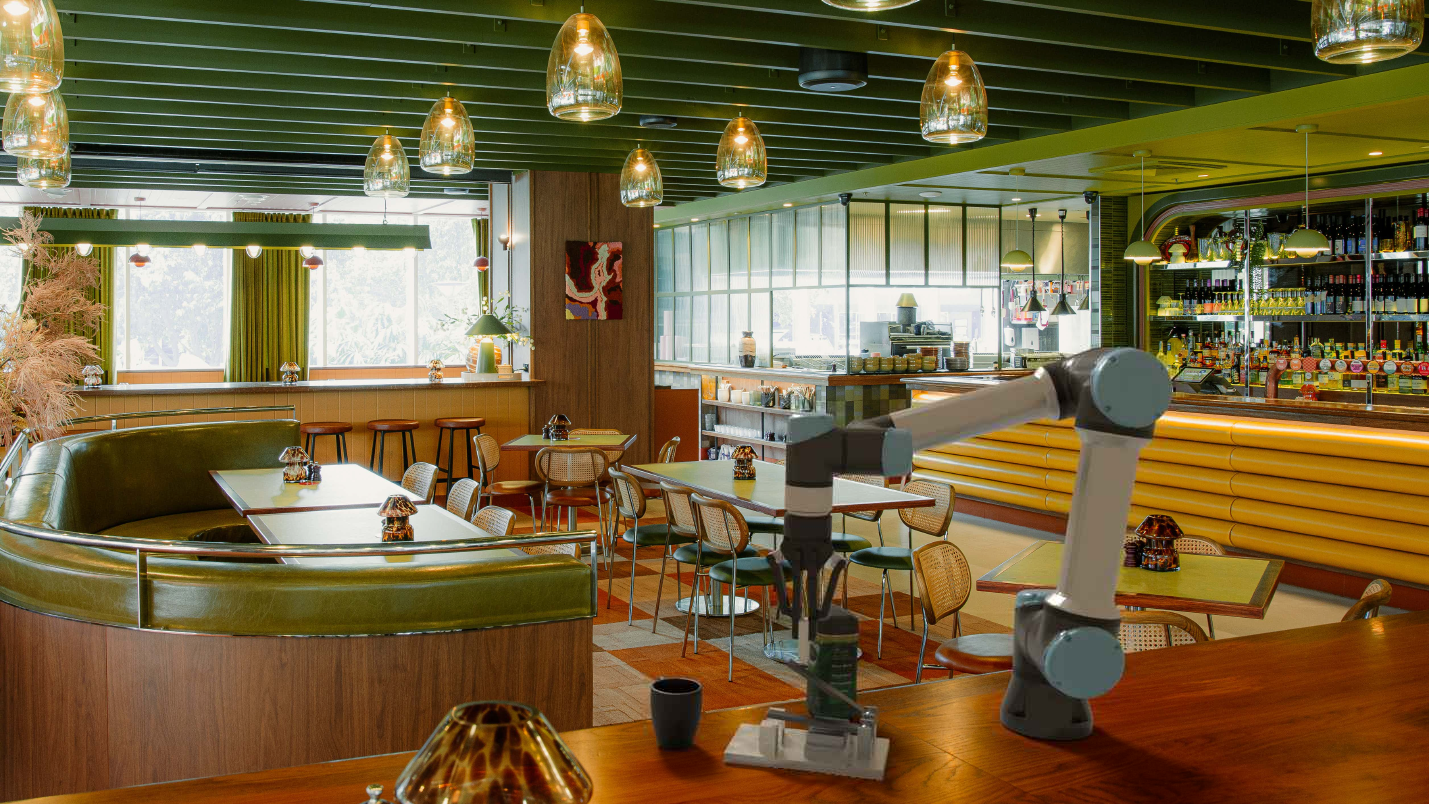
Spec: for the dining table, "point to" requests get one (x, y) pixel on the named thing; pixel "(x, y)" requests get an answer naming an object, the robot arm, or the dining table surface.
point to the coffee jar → (834, 663)
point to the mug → (675, 711)
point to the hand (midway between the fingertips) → (803, 659)
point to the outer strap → (815, 721)
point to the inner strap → (828, 688)
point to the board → (796, 752)
